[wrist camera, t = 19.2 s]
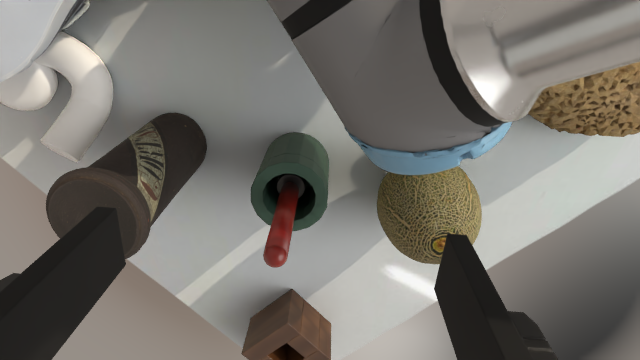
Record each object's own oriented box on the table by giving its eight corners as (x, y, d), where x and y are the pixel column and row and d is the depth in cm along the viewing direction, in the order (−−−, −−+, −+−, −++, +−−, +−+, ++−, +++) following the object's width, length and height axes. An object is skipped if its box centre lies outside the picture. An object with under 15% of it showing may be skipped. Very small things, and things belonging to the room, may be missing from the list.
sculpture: (7, -4, 45) (-56, -4, 37) (136, 64, 47) (100, 77, 40) (-12, 91, 49) (-72, 108, 42) (106, 148, 52) (69, 173, 45)
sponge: (469, 88, 49) (614, 172, 48) (488, 83, 41) (660, 183, 40) (535, -14, 46) (689, 74, 45) (569, -40, 38) (754, 66, 38)
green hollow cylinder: (252, 159, 52) (234, 194, 43) (298, 119, 50) (290, 146, 40) (295, 202, 54) (287, 243, 45) (341, 165, 52) (343, 201, 43)
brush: (278, 162, 52) (245, 260, 32) (296, 147, 51) (274, 238, 31) (295, 179, 52) (273, 284, 33) (313, 165, 52) (301, 264, 32)
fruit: (359, 157, 51) (369, 215, 38) (445, 126, 49) (488, 175, 36) (388, 229, 56) (405, 304, 42) (468, 202, 54) (514, 273, 40)
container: (217, 125, 50) (152, 197, 32) (200, 185, 54) (132, 281, 36) (149, 99, 49) (41, 160, 31) (136, 163, 53) (32, 250, 34)
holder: (250, 318, 63) (241, 353, 57) (292, 288, 61) (287, 322, 54) (289, 350, 66) (285, 388, 59) (331, 323, 63) (330, 360, 57)
